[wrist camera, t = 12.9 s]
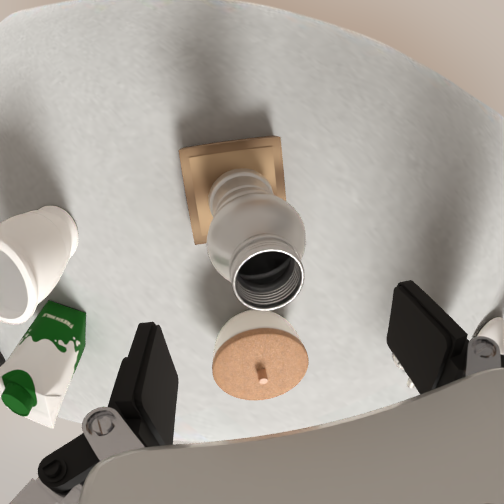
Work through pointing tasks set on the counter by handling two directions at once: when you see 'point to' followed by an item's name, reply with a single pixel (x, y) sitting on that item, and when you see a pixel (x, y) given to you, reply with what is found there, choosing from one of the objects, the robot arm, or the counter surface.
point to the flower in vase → (495, 332)
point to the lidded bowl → (258, 356)
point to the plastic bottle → (255, 240)
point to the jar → (33, 259)
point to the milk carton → (44, 364)
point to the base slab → (219, 162)
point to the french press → (1, 359)
